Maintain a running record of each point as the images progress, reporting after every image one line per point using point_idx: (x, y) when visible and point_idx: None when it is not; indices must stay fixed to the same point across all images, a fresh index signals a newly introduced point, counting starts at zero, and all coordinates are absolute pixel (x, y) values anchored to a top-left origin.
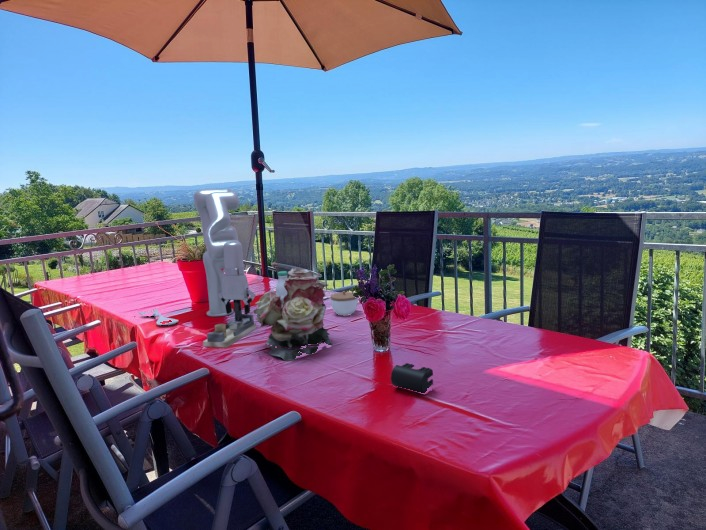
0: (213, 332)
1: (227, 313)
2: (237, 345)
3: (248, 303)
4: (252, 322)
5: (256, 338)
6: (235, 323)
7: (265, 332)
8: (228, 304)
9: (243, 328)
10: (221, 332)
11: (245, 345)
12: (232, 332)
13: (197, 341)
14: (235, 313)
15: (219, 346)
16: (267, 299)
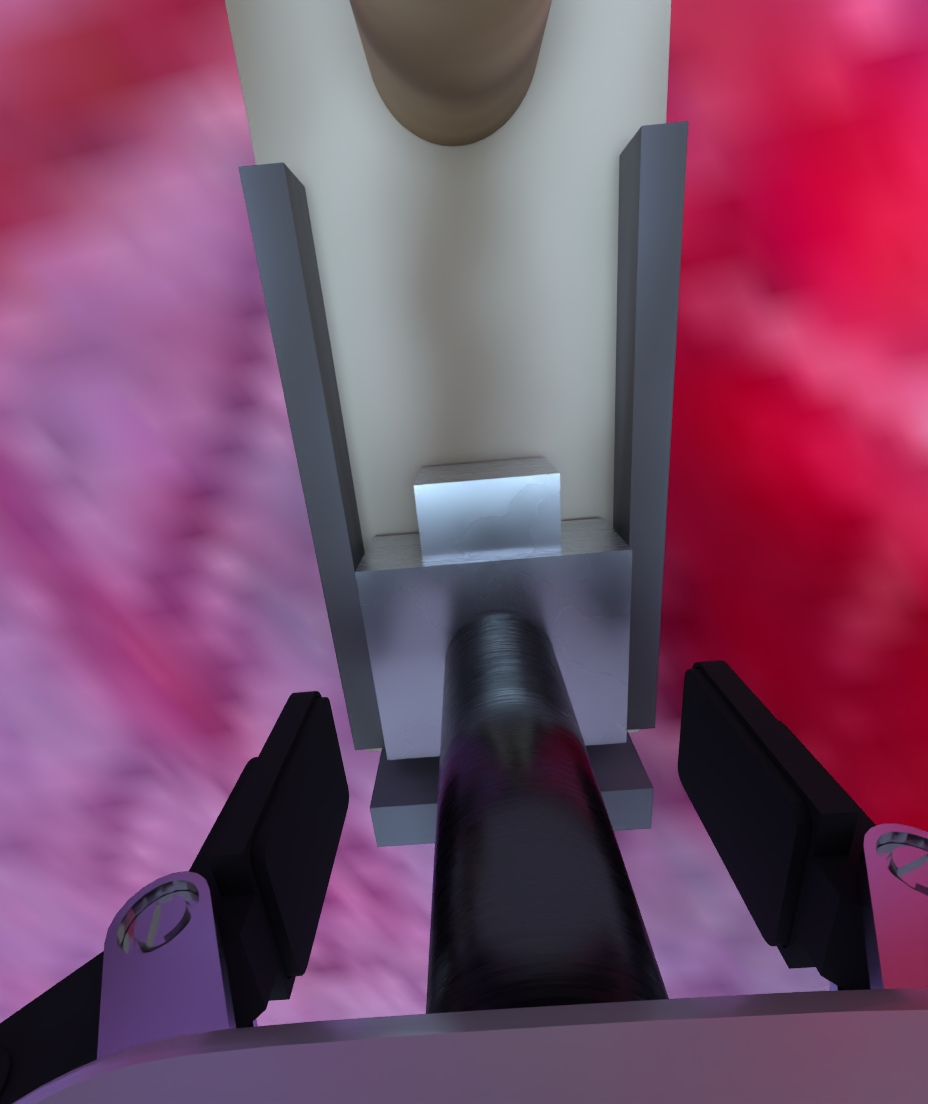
0: None
1: (705, 662)
2: (138, 10)
3: (132, 942)
4: (351, 709)
5: (110, 383)
6: (457, 508)
7: (172, 605)
8: (798, 863)
9: (302, 459)
10: None
11: (23, 42)
12: (436, 360)
13: (864, 58)
14: (530, 684)
15: None
16: None
